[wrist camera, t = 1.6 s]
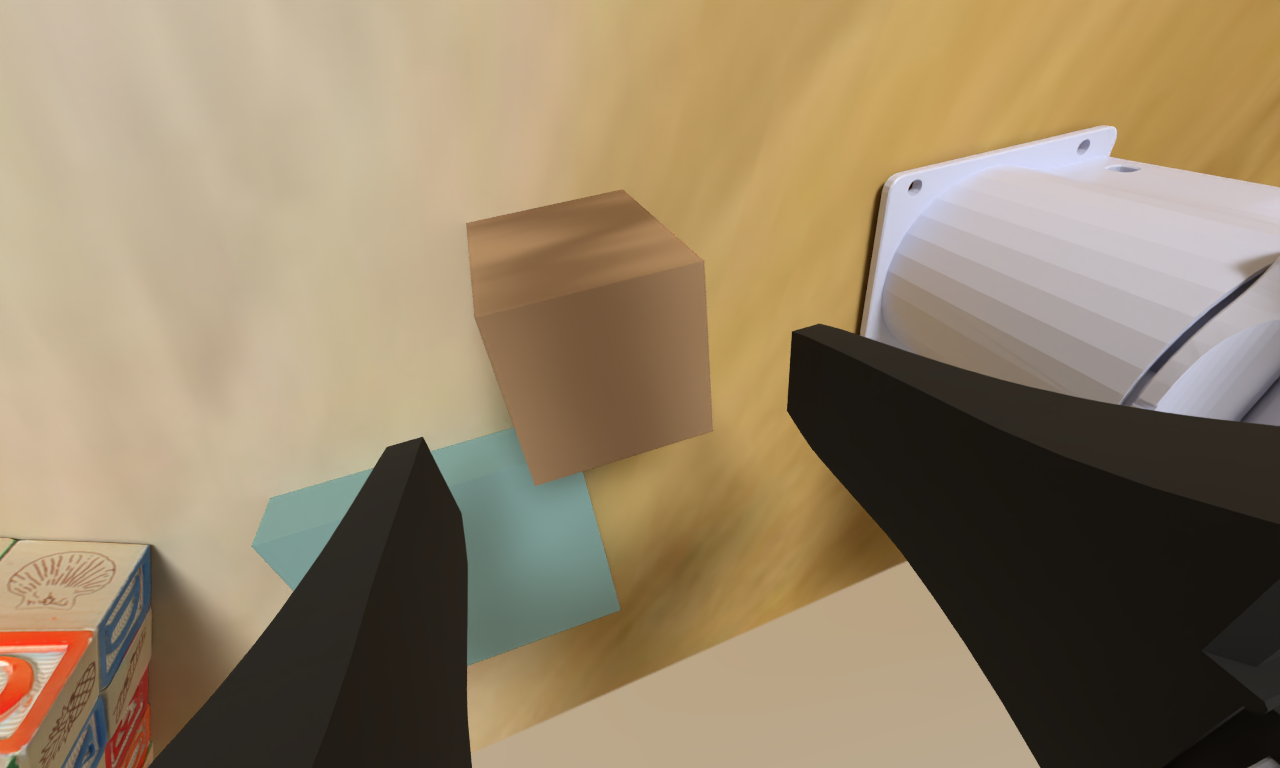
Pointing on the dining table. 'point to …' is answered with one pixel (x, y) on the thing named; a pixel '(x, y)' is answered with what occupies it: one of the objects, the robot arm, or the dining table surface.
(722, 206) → the dining table surface
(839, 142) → the dining table surface
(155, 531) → the dining table surface
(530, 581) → the teal base
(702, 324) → the walnut block
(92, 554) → the stack of blocks
